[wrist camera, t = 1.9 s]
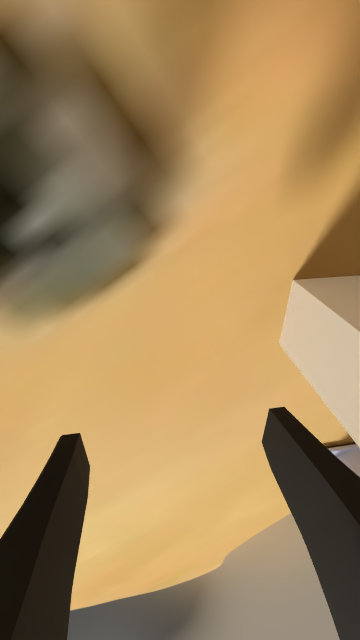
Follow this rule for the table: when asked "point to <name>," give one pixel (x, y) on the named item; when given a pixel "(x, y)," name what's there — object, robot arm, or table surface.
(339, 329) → the tall block
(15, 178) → the table surface
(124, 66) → the table surface
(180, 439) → the table surface
